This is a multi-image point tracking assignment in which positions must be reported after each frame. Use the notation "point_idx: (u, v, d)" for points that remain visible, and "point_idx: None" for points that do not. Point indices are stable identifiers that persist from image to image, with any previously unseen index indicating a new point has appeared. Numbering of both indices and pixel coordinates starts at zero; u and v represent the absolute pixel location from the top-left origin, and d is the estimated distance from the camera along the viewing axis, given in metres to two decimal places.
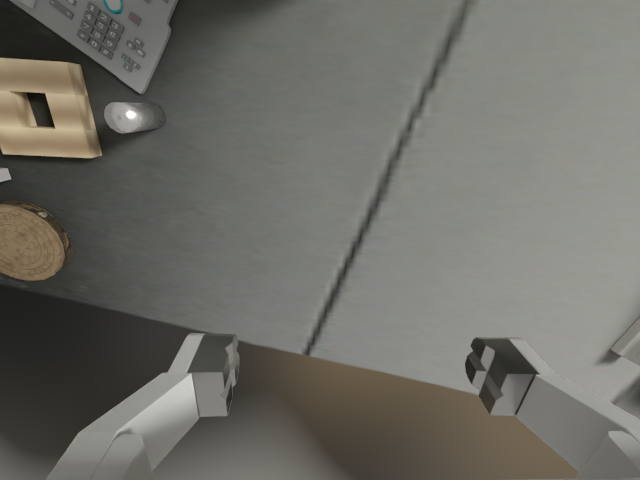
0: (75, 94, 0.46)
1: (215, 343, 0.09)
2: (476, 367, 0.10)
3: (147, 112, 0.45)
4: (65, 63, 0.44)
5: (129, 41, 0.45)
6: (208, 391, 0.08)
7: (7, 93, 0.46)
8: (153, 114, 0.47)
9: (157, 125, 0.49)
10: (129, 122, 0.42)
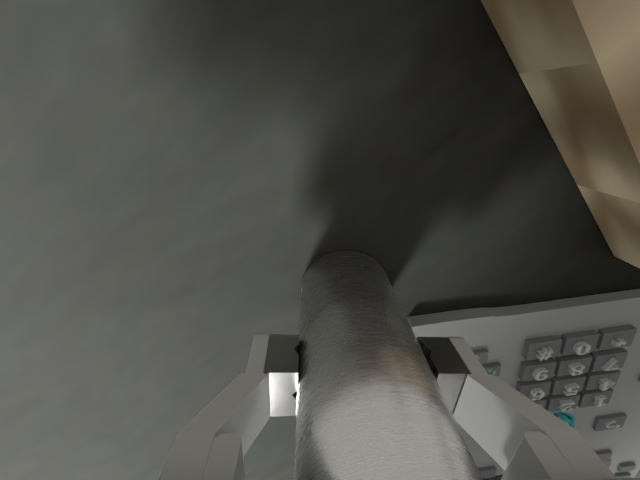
0: None
1: (283, 344, 0.09)
2: None
3: None
4: None
5: None
6: (281, 391, 0.08)
7: None
8: None
9: None
10: None
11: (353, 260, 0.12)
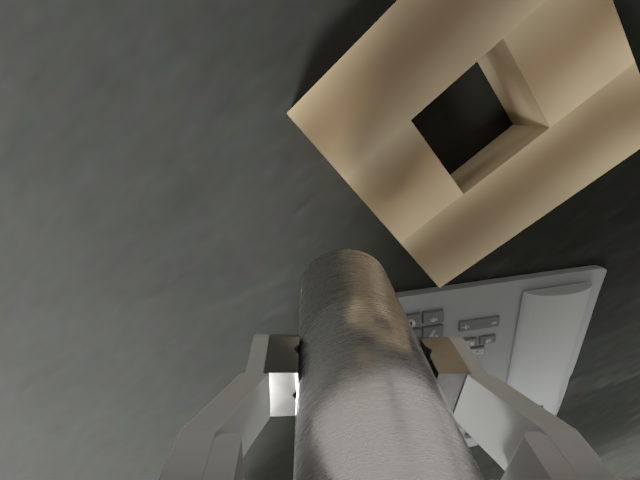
0: (400, 242, 0.18)
1: (283, 344, 0.09)
2: None
3: None
4: (440, 284, 0.19)
5: None
6: (281, 391, 0.08)
7: (555, 116, 0.15)
8: None
9: None
10: None
11: (353, 258, 0.12)
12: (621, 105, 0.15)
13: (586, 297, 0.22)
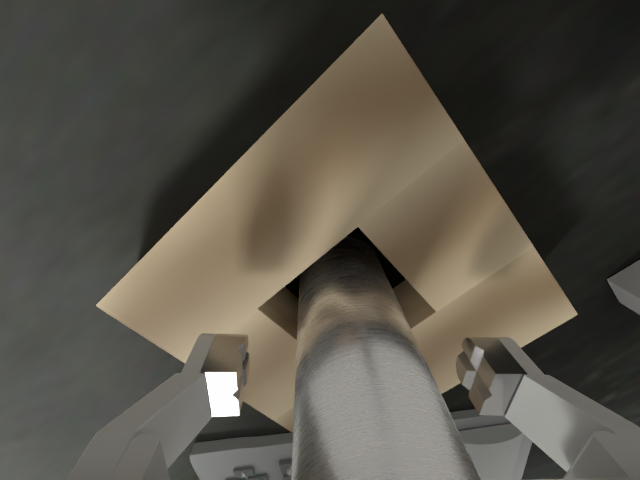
0: None
1: (227, 343, 0.09)
2: (466, 367, 0.10)
3: None
4: None
5: None
6: (221, 391, 0.08)
7: (440, 300, 0.12)
8: None
9: None
10: None
11: (347, 244, 0.13)
12: (523, 289, 0.12)
13: (518, 442, 0.19)
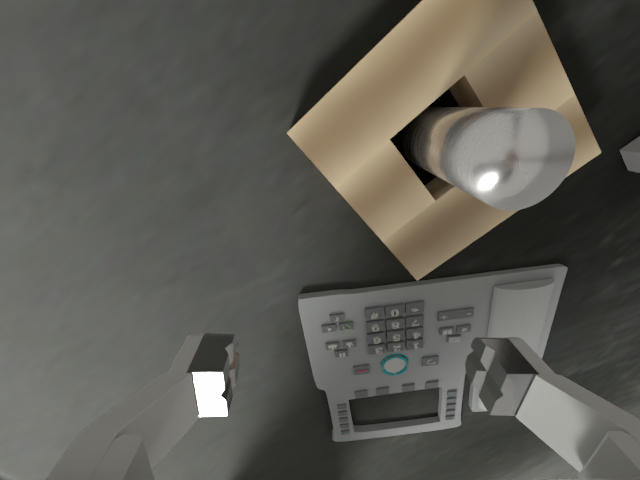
0: None
1: (215, 343, 0.09)
2: (476, 367, 0.10)
3: None
4: (417, 277, 0.22)
5: (353, 346, 0.27)
6: (208, 391, 0.08)
7: None
8: (430, 172, 0.18)
9: (412, 142, 0.19)
10: (489, 174, 0.12)
11: None
12: None
13: (549, 291, 0.25)
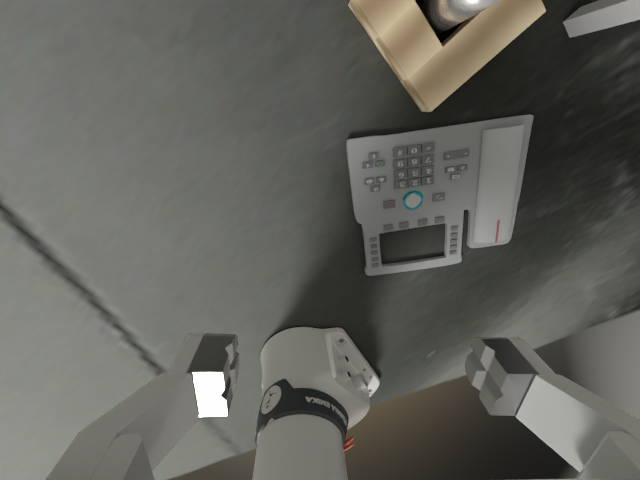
0: (408, 79, 0.32)
1: (215, 343, 0.09)
2: (476, 367, 0.10)
3: (451, 18, 0.28)
4: (431, 109, 0.33)
5: (384, 181, 0.39)
6: (208, 391, 0.08)
7: None
8: (440, 20, 0.29)
9: (428, 5, 0.30)
10: None
11: None
12: None
13: (521, 132, 0.36)
